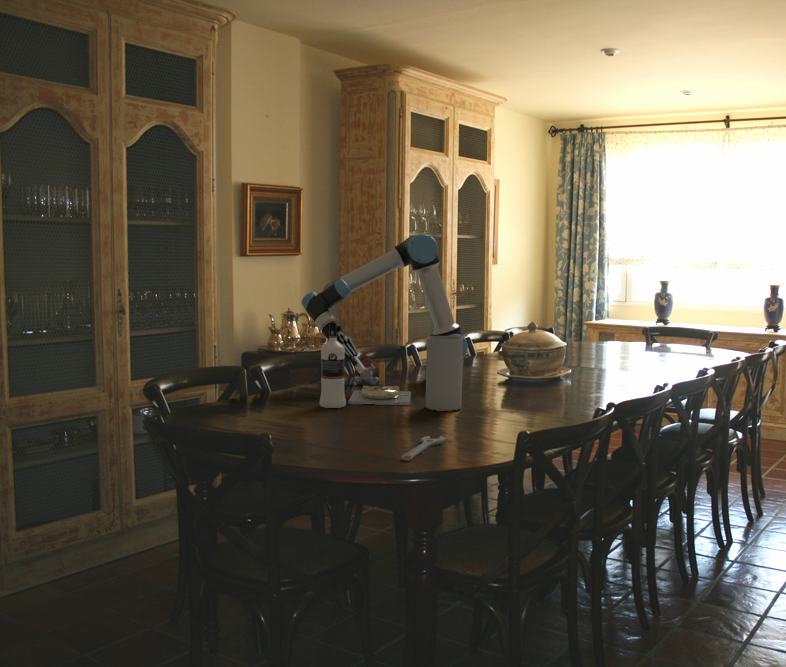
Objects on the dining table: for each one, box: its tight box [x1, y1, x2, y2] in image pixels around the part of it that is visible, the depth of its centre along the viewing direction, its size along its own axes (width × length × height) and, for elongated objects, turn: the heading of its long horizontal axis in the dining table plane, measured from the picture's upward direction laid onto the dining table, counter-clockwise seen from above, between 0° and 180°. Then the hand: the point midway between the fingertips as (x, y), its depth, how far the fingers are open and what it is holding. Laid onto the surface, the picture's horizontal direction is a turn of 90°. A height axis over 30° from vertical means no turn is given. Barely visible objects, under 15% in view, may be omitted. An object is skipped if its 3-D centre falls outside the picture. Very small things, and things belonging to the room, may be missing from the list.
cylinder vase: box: [425, 335, 463, 412], centre depth 257 cm, size 12×12×25 cm
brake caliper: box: [353, 357, 379, 386], centre depth 306 cm, size 11×11×12 cm
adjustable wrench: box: [401, 435, 446, 460], centre depth 200 cm, size 25×6×2 cm, turn 153°
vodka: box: [319, 322, 347, 409], centre depth 257 cm, size 9×9×30 cm
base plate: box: [347, 389, 412, 406], centre depth 274 cm, size 22×22×1 cm
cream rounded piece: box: [361, 362, 401, 399], centre depth 273 cm, size 14×14×11 cm
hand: (362, 371), depth 283 cm, fingers closed
